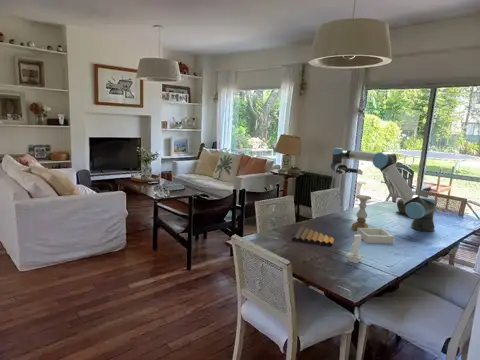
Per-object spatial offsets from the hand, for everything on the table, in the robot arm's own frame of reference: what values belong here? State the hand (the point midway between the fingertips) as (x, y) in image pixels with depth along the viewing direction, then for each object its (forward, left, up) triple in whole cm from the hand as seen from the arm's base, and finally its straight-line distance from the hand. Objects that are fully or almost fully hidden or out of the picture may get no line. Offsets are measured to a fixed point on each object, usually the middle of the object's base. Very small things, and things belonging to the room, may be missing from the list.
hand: (353, 173), depth 260 cm
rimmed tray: (-4, +37, -38) cm, 53 cm away
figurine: (+23, +75, -38) cm, 87 cm away
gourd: (-64, -28, -38) cm, 80 cm away
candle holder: (-2, +18, -38) cm, 42 cm away
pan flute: (+36, +37, -39) cm, 64 cm away
